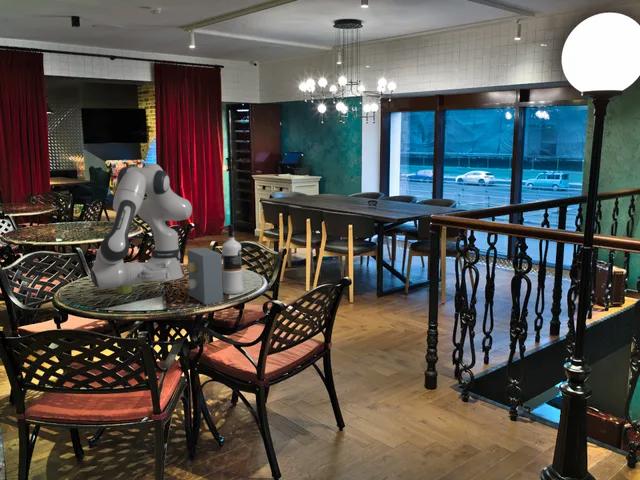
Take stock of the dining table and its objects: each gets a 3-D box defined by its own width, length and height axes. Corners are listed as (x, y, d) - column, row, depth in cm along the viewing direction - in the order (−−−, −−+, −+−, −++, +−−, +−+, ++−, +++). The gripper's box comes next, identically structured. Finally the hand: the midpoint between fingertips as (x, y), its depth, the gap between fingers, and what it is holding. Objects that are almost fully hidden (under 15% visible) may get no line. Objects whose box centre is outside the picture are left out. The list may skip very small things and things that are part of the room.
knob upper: (190, 273, 239) (190, 263, 239) (187, 271, 243) (186, 262, 242) (221, 269, 246) (220, 260, 246) (217, 267, 250) (217, 258, 249)
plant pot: (115, 296, 251) (113, 276, 249) (111, 291, 259) (110, 272, 258) (137, 293, 255) (136, 274, 254) (133, 289, 263) (132, 270, 262)
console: (204, 304, 237) (202, 256, 234) (189, 295, 252) (187, 249, 249) (223, 301, 241) (221, 254, 238) (206, 292, 256) (205, 247, 253)
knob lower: (191, 290, 240) (190, 280, 240) (187, 288, 244) (187, 278, 243) (221, 285, 248) (221, 276, 247) (218, 283, 251) (217, 274, 250)
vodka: (231, 289, 262) (228, 222, 257) (248, 291, 258) (246, 224, 253) (218, 293, 254) (215, 225, 249) (235, 296, 250) (233, 226, 245)
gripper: (142, 269, 220) (177, 265, 227) (127, 261, 237) (161, 257, 244) (143, 286, 221) (178, 281, 228) (128, 276, 238) (162, 272, 245)
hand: (169, 269), depth 236 cm, fingers closed
